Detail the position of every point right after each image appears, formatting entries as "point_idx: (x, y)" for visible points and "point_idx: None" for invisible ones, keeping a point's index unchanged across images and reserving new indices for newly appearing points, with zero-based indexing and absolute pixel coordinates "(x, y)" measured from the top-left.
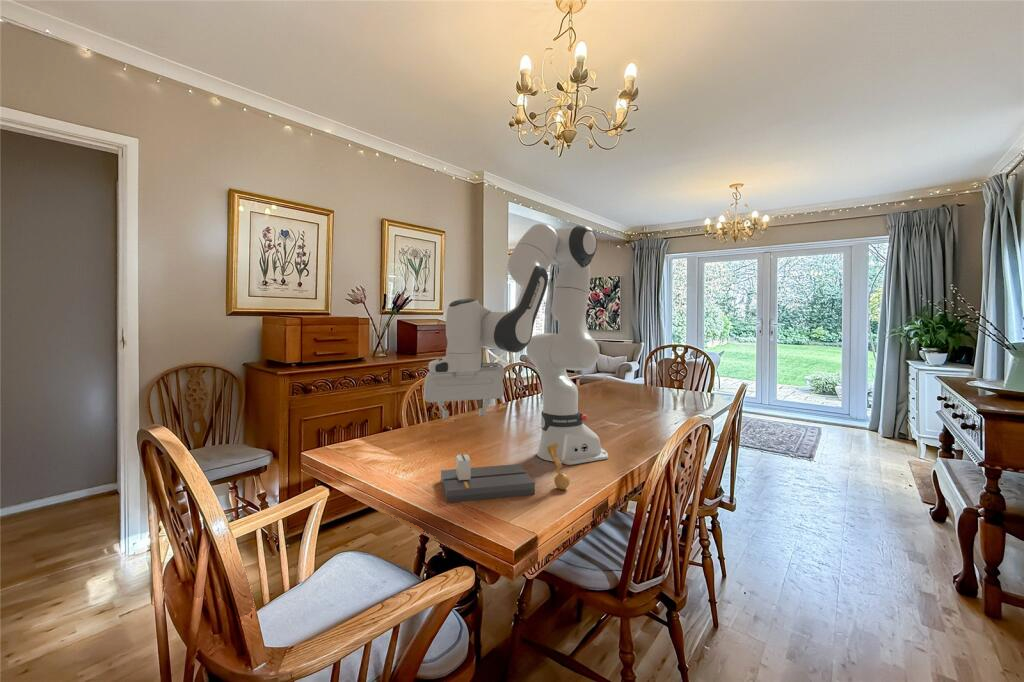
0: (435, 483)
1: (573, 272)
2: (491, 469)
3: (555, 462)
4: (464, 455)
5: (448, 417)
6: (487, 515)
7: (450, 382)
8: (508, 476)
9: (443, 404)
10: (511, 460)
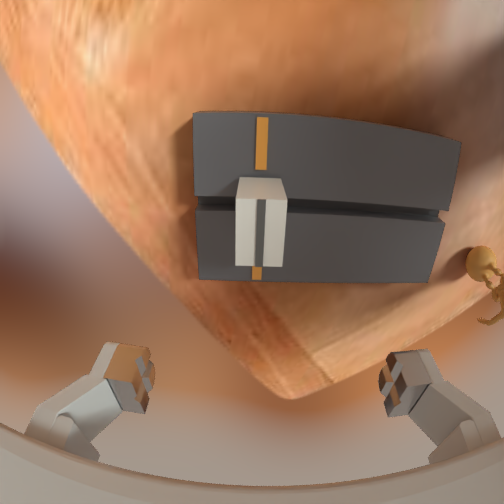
0: (181, 125)
1: None
2: (370, 155)
3: (481, 322)
4: (270, 210)
5: (150, 382)
6: (281, 330)
7: None
8: (394, 228)
9: (92, 457)
10: (455, 24)
